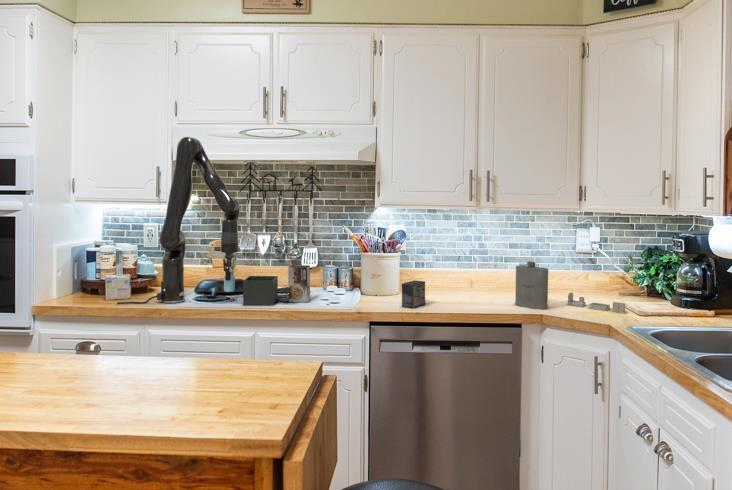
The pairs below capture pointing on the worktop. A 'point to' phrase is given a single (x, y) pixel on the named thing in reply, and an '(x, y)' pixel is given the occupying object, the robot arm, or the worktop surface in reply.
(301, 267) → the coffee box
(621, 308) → the bathroom set
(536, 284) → the flask
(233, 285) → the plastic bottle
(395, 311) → the worktop surface
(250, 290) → the waste bin
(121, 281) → the light bulb box
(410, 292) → the small box
